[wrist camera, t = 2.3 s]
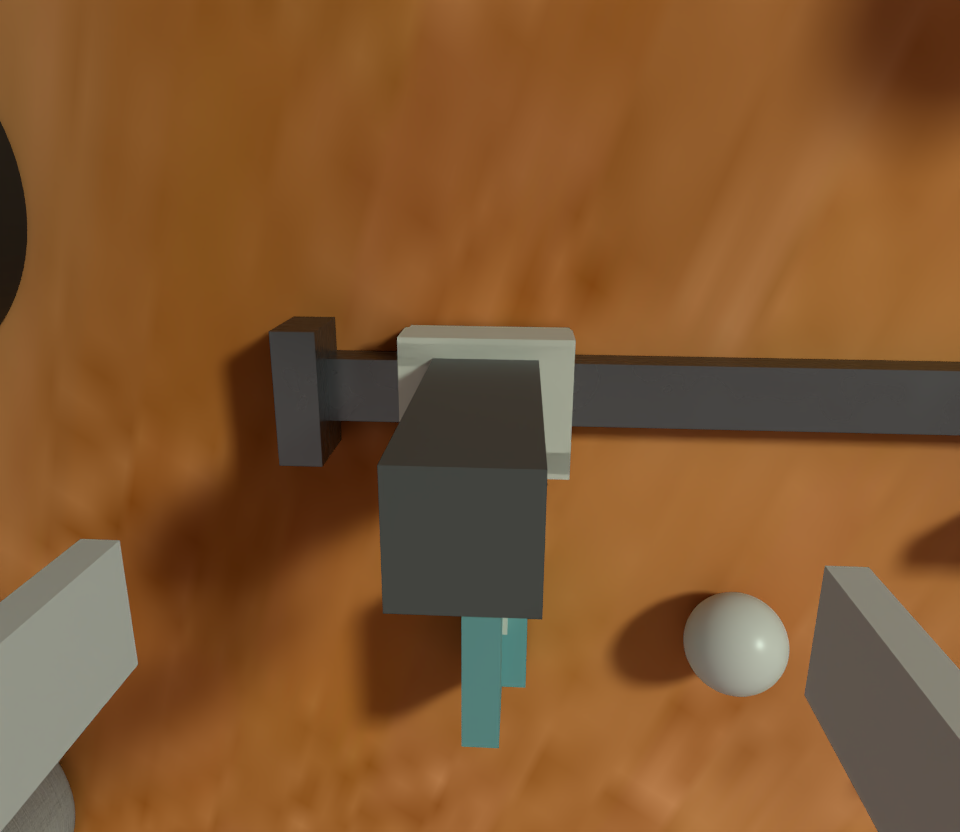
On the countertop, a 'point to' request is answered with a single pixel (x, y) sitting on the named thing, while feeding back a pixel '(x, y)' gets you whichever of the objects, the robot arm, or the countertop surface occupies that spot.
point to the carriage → (475, 493)
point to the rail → (623, 392)
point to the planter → (47, 807)
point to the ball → (736, 644)
